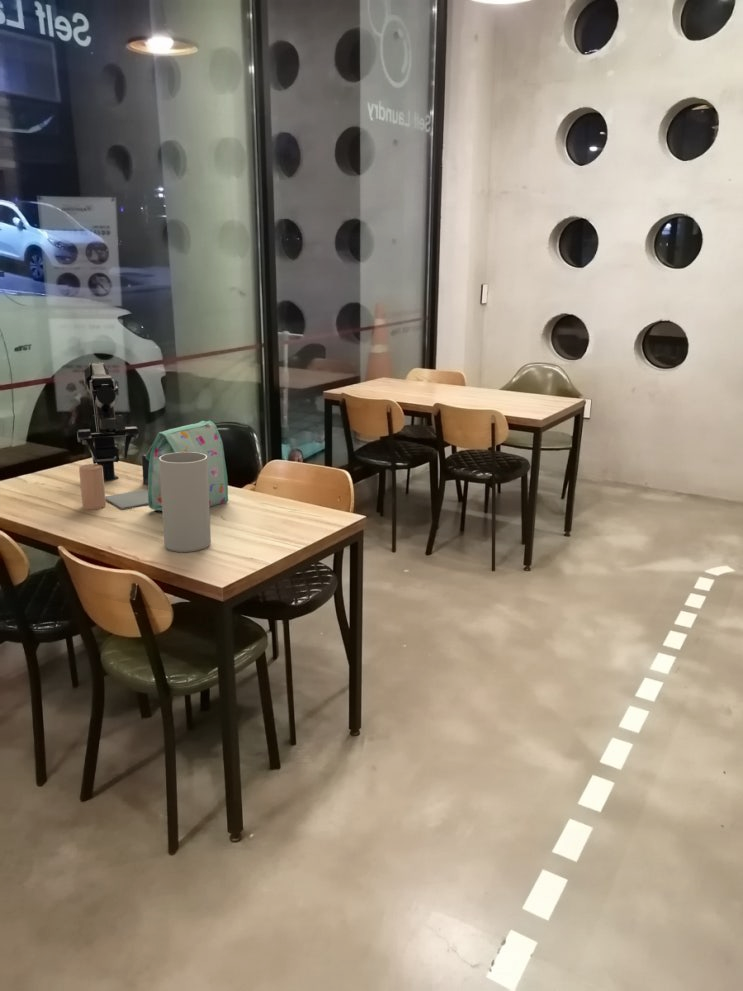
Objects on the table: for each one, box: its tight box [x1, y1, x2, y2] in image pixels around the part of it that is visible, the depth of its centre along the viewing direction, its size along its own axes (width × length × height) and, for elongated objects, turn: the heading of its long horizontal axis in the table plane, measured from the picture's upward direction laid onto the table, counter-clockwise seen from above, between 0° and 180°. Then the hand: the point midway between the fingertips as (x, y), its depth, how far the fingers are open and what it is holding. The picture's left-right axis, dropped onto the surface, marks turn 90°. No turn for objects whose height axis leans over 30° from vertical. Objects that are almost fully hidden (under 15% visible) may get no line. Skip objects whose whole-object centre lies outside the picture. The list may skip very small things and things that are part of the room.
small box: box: [141, 452, 149, 485], centre depth 273 cm, size 11×6×10 cm, turn 171°
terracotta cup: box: [78, 463, 107, 510], centre depth 243 cm, size 7×7×13 cm
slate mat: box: [105, 488, 149, 511], centre depth 252 cm, size 15×15×1 cm
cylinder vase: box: [159, 452, 212, 553], centre depth 209 cm, size 12×12×25 cm
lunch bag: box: [146, 420, 229, 511], centre depth 243 cm, size 23×16×27 cm
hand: (111, 459), depth 250 cm, fingers open, 9 cm apart
